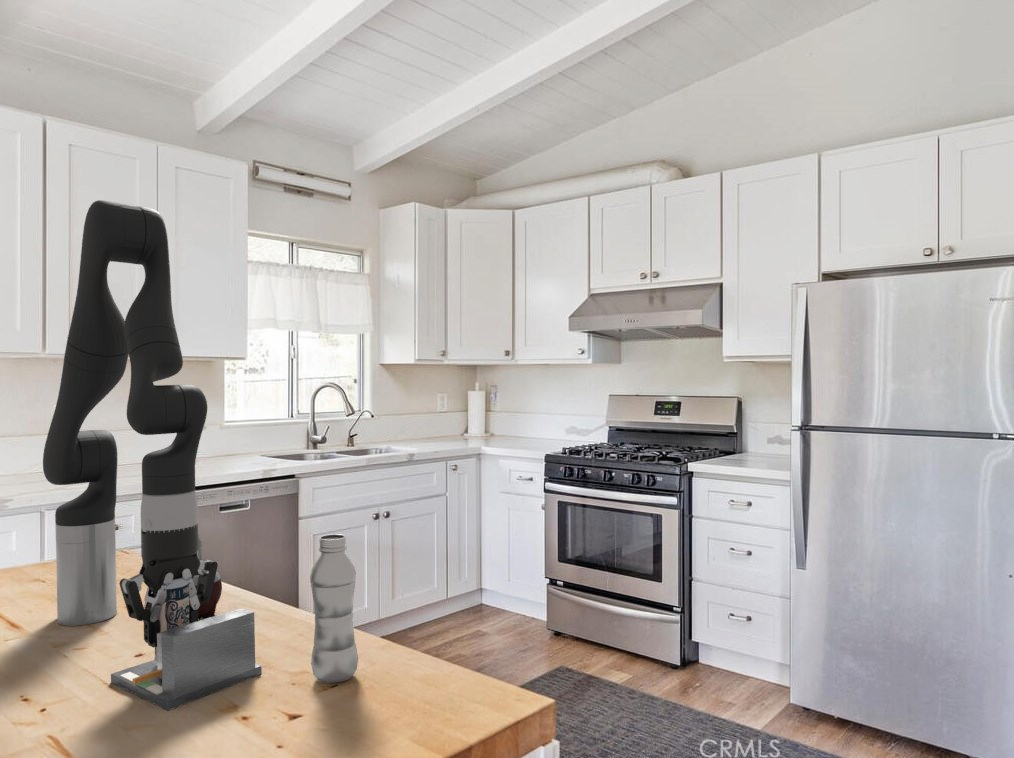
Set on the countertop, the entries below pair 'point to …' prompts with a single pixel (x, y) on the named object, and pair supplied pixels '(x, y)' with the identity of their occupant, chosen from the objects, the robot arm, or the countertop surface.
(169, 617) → the beer can
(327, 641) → the plastic bottle
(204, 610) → the mate gourd
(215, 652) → the gauge base
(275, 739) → the countertop surface
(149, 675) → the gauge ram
